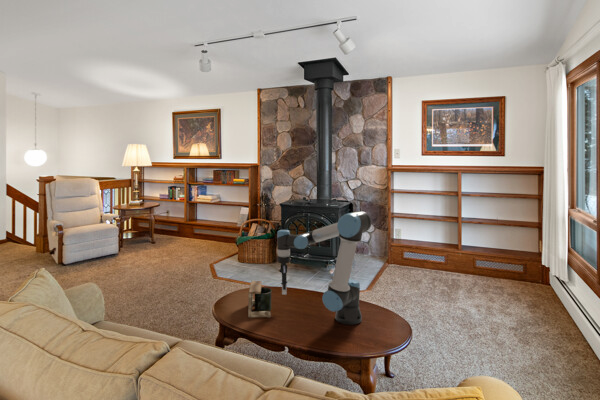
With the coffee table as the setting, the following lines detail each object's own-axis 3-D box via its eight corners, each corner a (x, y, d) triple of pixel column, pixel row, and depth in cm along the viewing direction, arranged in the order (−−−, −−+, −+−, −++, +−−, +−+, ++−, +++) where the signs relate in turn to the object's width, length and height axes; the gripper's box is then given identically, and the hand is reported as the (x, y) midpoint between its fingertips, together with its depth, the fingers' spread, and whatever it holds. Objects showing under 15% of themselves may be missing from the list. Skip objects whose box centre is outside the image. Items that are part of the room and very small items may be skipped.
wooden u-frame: (270, 303, 228) (270, 280, 226) (270, 317, 206) (270, 292, 205) (250, 303, 227) (250, 280, 225) (248, 318, 205) (248, 292, 204)
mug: (273, 306, 223) (273, 287, 222) (268, 316, 208) (268, 296, 207) (256, 305, 224) (256, 286, 223) (250, 314, 210) (250, 295, 209)
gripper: (277, 253, 221) (277, 290, 222) (277, 258, 208) (278, 298, 210) (289, 253, 221) (290, 290, 223) (290, 258, 208) (291, 297, 210)
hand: (284, 294), depth 216 cm, fingers closed
